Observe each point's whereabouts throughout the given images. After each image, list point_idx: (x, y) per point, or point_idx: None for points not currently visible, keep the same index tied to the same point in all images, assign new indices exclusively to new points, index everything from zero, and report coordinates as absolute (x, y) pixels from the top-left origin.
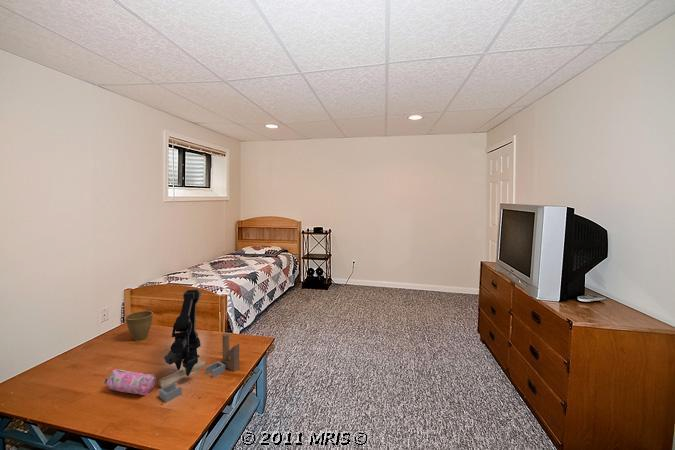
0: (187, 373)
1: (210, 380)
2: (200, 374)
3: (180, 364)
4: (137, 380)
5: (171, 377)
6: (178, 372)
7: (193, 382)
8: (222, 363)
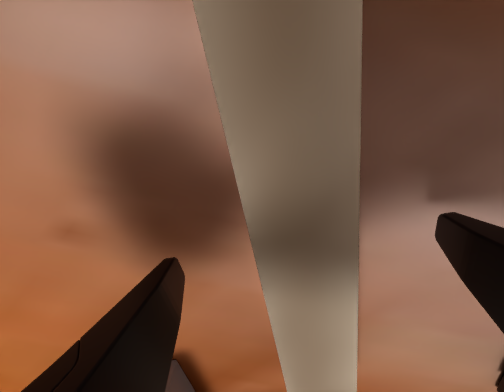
0: (129, 301)
1: (33, 353)
2: (188, 331)
3: (498, 312)
4: None
5: (214, 41)
6: (312, 209)
7: (63, 260)
8: None
